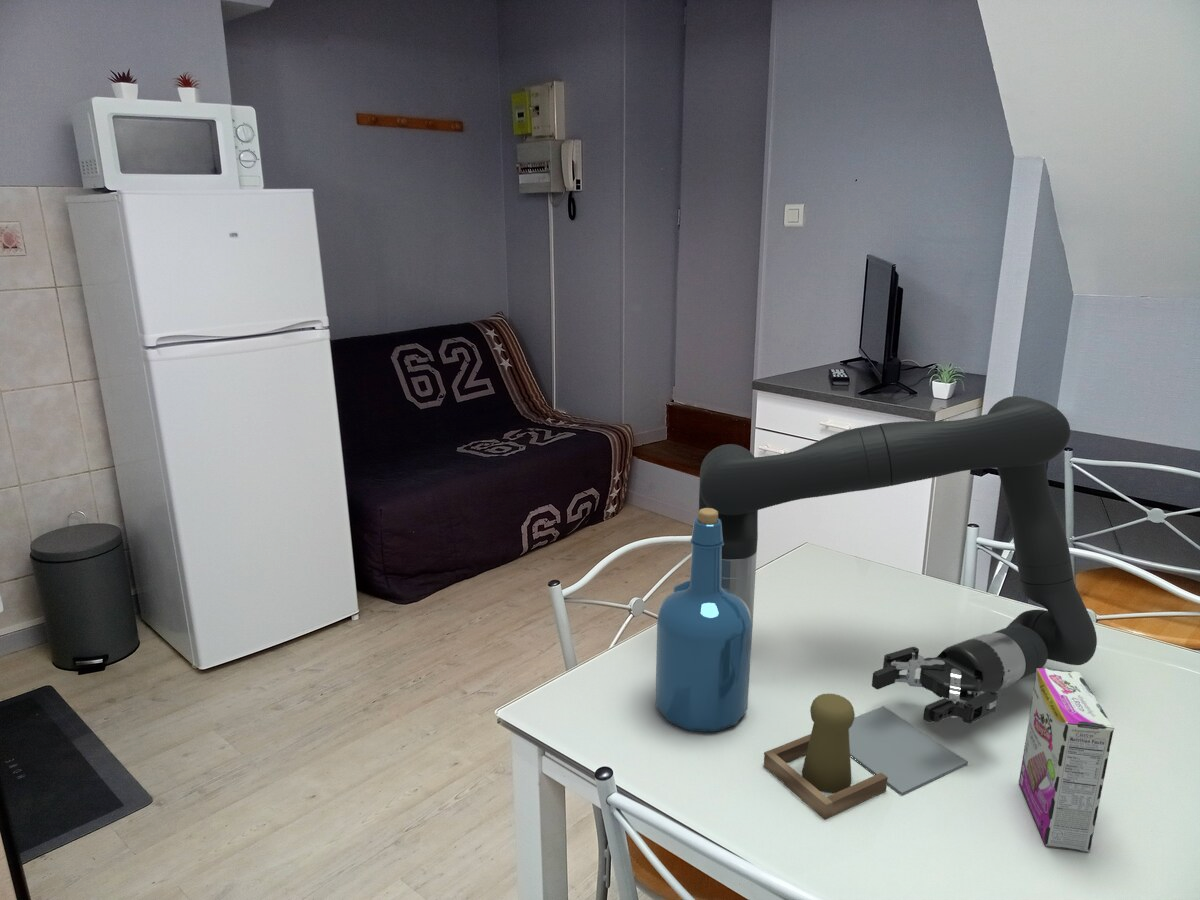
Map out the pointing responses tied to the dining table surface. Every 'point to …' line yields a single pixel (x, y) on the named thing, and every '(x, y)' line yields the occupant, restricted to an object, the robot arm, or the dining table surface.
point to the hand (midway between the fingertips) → (899, 698)
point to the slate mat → (899, 750)
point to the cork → (829, 744)
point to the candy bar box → (1065, 758)
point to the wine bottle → (703, 641)
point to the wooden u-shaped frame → (811, 795)
